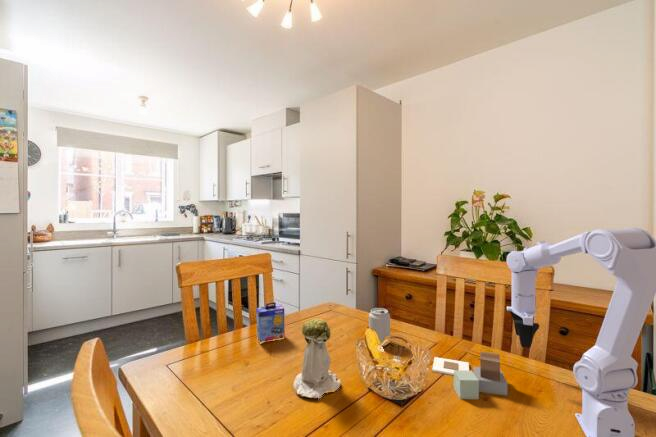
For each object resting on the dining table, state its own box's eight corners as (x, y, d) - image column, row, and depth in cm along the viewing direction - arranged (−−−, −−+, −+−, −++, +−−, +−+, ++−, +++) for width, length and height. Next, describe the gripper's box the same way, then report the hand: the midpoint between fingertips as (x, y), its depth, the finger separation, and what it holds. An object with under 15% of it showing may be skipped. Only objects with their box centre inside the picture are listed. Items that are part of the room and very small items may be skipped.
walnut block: (500, 380, 81) (499, 362, 80) (480, 376, 83) (480, 358, 83) (499, 372, 85) (499, 354, 84) (480, 368, 87) (480, 351, 87)
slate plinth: (507, 397, 80) (507, 383, 79) (477, 392, 82) (477, 379, 81) (500, 382, 86) (500, 369, 86) (473, 378, 88) (473, 366, 88)
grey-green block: (478, 399, 78) (478, 380, 78) (460, 399, 79) (460, 380, 78) (471, 388, 83) (471, 370, 83) (453, 388, 83) (453, 370, 83)
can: (390, 348, 107) (389, 314, 106) (368, 347, 108) (368, 313, 108) (390, 339, 114) (390, 307, 114) (370, 338, 116) (369, 306, 115)
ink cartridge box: (259, 345, 112) (258, 305, 111) (256, 339, 117) (255, 301, 116) (285, 339, 116) (284, 301, 115) (281, 334, 121) (280, 297, 120)
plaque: (469, 378, 88) (469, 375, 88) (432, 371, 92) (432, 368, 92) (468, 364, 95) (468, 361, 95) (434, 358, 99) (434, 356, 99)
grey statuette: (285, 385, 87) (283, 320, 86) (322, 369, 95) (321, 310, 94) (308, 406, 77) (306, 334, 77) (347, 386, 85) (346, 321, 84)
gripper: (503, 285, 95) (503, 329, 96) (510, 299, 82) (510, 349, 82) (530, 287, 92) (530, 332, 93) (542, 302, 79) (542, 354, 79)
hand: (523, 340), depth 87 cm, fingers open, 7 cm apart
